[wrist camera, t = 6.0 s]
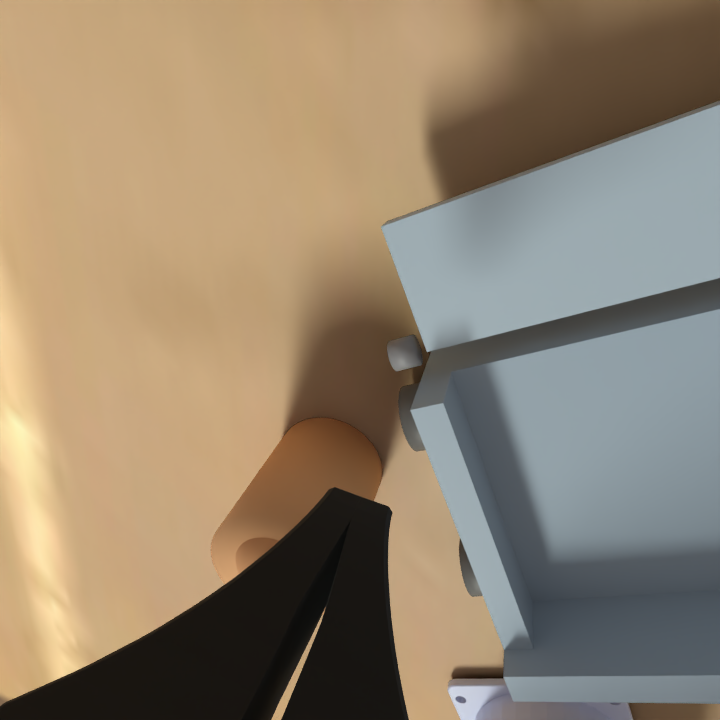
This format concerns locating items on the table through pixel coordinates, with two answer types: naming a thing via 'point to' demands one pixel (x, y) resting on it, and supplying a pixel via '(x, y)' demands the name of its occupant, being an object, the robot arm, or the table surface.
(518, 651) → the box
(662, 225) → the panel
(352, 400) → the table surface
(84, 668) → the robot arm
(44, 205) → the table surface
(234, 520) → the tan hollow cylinder
